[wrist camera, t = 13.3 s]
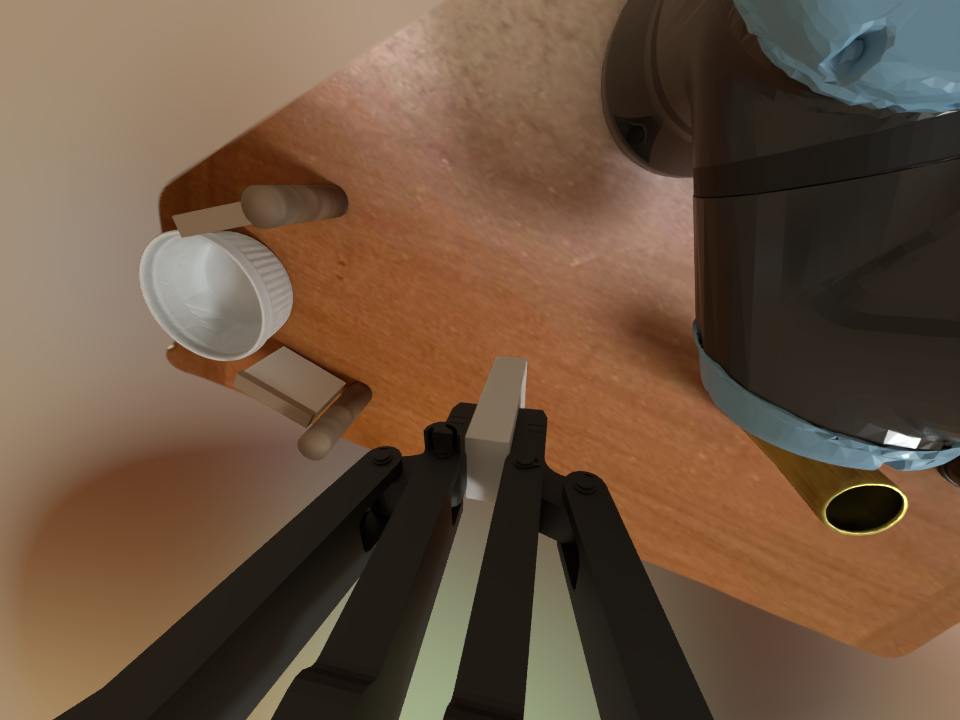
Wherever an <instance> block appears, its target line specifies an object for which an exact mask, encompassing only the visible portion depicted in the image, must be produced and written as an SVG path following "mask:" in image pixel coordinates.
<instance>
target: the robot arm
mask: <svg viewBox="0 0 960 720" xmlns="http://www.w3.org/2000/svg"><path fill="white" fill-rule="evenodd" d="M601 97H602V105H603V111H604V115H605V119H606V122H607V125H608V128H609V130H610V133H611V135H612V137H613V138H614V140H615V142H616V143H617V145H618V146H619V148H620V149H621V150H622V151H623V153H624V154H625V155H626V156H627V157H628V158H629V159H631V160H632V161H633V162H634V163H636V164H637V165H639V166H640V167H642V168H644V169H646V170H647V171H650V172H652V173H655V174H658V175H662V176H667V177H675V178H689V177H693V181H694V195H693V217H694V264H695V312H696V318H695V320H694V322H693V336H694V341H695V343H696V345H697V348H698V352H699V364H700V375H701V380H702V383H703V386H704V388H705V390H706V391H707V392H708V393H709V395H710V397H711V399H712V401H713V403H714V404H715V405H716V406H717V407H718V409H719V410H720V411H721V412H723V413H724V414H725V415H726V416H727V417H728V418H729V419H730V420H732V421H733V422H734V423H736V424H737V425H738V426H740V427H741V428H743V429H744V430H746V431H748V432H749V433H751V434H753V435H754V436H756V437H758V438H760V439H762V440H764V441H766V442H768V443H771V444H773V445H775V446H777V447H779V448H782V449H784V450H787V451H789V452H792V453H795V454H797V455H800V456H803V457H807V458H810V459H813V460H817V461H821V462H824V463H828V464H833V465H838V466H843V467H849V468H855V469H862V470H876V469H878V468H879V467H880V466H881V465H882V464H883V463H885V464H887V465H889V466H891V467H893V468H895V469H897V470H900V471H909V470H922V469H927V468H932V467H936V466H939V465H942V464H945V463H947V462H949V461H951V460H952V459H954V458H956V457H957V456H959V455H960V0H627V2H626V4H625V6H624V8H623V10H622V12H621V14H620V16H619V18H618V20H617V22H616V25H615V27H614V29H613V32H612V34H611V37H610V40H609V43H608V46H607V50H606V53H605V58H604V63H603V69H602V79H601ZM526 373H527V358H515V357H503V356H496V359H495V361H494V364H493V366H492V369H491V371H490V374H489V377H488V379H487V382H486V384H485V387H484V389H483V392H482V395H481V397H480V400H479V402H478V404H471V403H462V402H460V403H459V404H458V405H456V406H455V407H454V408H453V409H452V411H451V413H450V415H449V417H448V419H447V421H446V422H437V423H433V424H431V425H429V426H427V427H426V428H425V430H424V441H425V451H424V453H422V454H419V455H414V456H403V457H402V454H401V452H400V451H399V450H398V449H396V448H395V447H390V446H383V447H378V448H375V449H372V450H371V451H369V452H368V453H367V454H366V455H364V456H363V457H362V458H361V459H360V460H359V461H358V462H357V463H355V464H354V465H353V466H352V467H351V468H350V469H349V470H347V471H346V472H345V473H344V474H343V475H342V476H341V477H340V478H338V479H337V480H336V481H335V482H334V483H333V484H332V485H331V486H329V487H328V488H327V489H326V490H325V491H324V492H323V493H322V494H320V495H319V496H318V497H317V498H316V499H315V500H314V501H313V502H311V503H310V504H309V505H308V506H307V507H306V508H305V509H304V510H303V511H301V512H300V513H299V514H298V515H297V516H296V517H295V518H293V519H292V520H291V521H290V522H289V523H288V524H287V525H286V526H284V527H283V528H282V529H281V530H280V531H279V532H278V533H277V534H276V535H274V536H273V537H272V538H271V539H270V540H269V541H268V542H266V543H265V544H264V545H263V546H262V547H261V548H260V549H259V550H257V551H256V552H255V553H254V554H253V555H252V556H251V557H250V558H249V559H247V560H246V561H245V562H244V563H243V564H242V565H241V566H239V567H238V568H237V569H236V570H235V571H234V572H233V573H231V574H230V575H229V576H228V577H227V578H226V579H225V580H224V581H222V582H221V583H220V584H219V585H218V586H217V587H216V588H215V589H214V590H212V591H211V592H210V593H209V594H208V595H207V596H206V597H204V598H203V599H202V600H201V601H200V602H199V603H198V604H197V605H196V606H194V607H193V608H192V609H191V610H190V611H189V612H188V613H186V614H185V615H184V616H183V617H182V618H181V619H180V620H179V621H177V622H176V623H175V624H174V625H173V626H172V627H171V628H170V629H168V630H167V631H166V632H165V633H164V634H163V635H162V636H161V637H159V639H157V640H156V641H155V642H154V643H153V644H152V645H150V646H149V647H148V648H147V649H146V650H145V651H144V652H143V653H142V654H140V655H139V656H138V657H137V658H136V659H135V660H134V661H132V662H131V663H130V664H129V665H128V666H127V667H126V668H125V669H123V670H122V671H121V672H120V673H119V674H118V675H117V676H116V677H114V678H113V679H112V680H111V681H110V682H109V683H108V684H107V685H105V686H104V687H103V688H102V689H100V690H99V691H97V692H96V693H94V694H92V695H91V696H89V697H88V698H86V699H85V700H83V701H81V702H80V703H79V704H77V705H76V706H74V707H72V708H71V709H69V710H67V711H66V712H64V713H63V714H61V715H60V716H58V717H56V718H55V719H53V720H246V719H247V718H248V716H249V715H250V714H251V713H252V711H253V710H254V709H255V707H256V706H257V705H258V704H259V702H260V701H261V700H262V699H263V697H264V696H265V695H266V694H267V692H268V691H269V690H270V689H271V687H272V686H273V685H274V684H275V682H276V681H277V680H278V679H279V677H280V676H281V675H282V673H283V672H284V671H285V669H287V667H288V666H289V665H290V663H291V662H292V661H293V660H294V659H295V657H296V656H297V655H298V653H299V652H300V651H301V650H302V648H303V647H304V646H305V645H306V643H307V642H308V641H309V640H310V638H311V637H312V636H313V635H314V633H315V632H316V631H317V630H318V628H319V627H320V626H321V625H322V623H323V622H324V621H325V620H326V618H327V617H328V616H329V615H330V613H331V612H332V611H333V610H334V608H335V607H336V606H337V605H338V603H339V602H340V601H341V599H342V598H343V597H344V596H345V594H346V593H347V592H348V591H349V589H350V588H351V587H352V586H353V584H354V583H355V582H356V581H357V579H358V578H359V577H360V578H359V580H358V582H357V584H356V586H355V587H354V589H353V591H352V593H351V595H350V597H349V599H348V601H347V603H346V605H345V607H344V609H343V611H342V613H341V615H340V617H339V619H338V621H337V623H336V625H335V627H334V628H333V630H332V632H331V634H330V636H329V638H328V640H327V642H326V644H325V646H324V648H323V650H322V652H321V654H320V656H319V657H318V659H317V661H316V662H315V663H314V664H313V665H312V666H311V667H309V668H306V669H303V670H302V671H301V672H300V673H299V674H298V675H297V676H296V677H295V678H294V680H293V682H292V683H291V685H290V686H289V688H288V689H287V691H286V693H285V695H284V697H283V698H282V701H281V702H280V704H279V706H278V708H277V710H276V711H275V713H274V715H273V717H272V719H271V720H399V716H400V713H401V710H402V707H403V704H404V700H405V697H406V694H407V690H408V687H409V684H410V681H411V677H412V674H413V671H414V668H415V664H416V661H417V658H418V655H419V651H420V648H421V645H422V642H423V638H424V635H425V631H426V629H427V625H428V622H429V619H430V615H431V612H432V609H433V606H434V602H435V599H436V596H437V593H438V589H439V586H440V583H441V580H442V576H443V573H444V570H445V567H446V563H447V560H448V557H449V553H450V550H451V547H452V544H453V540H454V537H455V534H456V531H457V527H458V524H459V521H460V517H461V514H462V511H463V496H464V493H465V490H466V498H469V499H476V500H482V501H489V502H495V507H494V512H493V516H492V521H491V525H490V530H489V534H488V539H487V543H486V548H485V553H484V557H483V562H482V566H481V570H480V575H479V580H478V584H477V589H476V593H475V598H474V602H473V607H472V611H471V616H470V620H469V625H468V629H467V634H466V638H465V643H464V648H463V652H462V657H461V661H460V666H459V670H458V675H457V679H456V684H455V688H454V692H453V696H452V699H451V702H450V703H449V705H448V706H447V709H446V712H445V714H444V718H443V720H523V716H524V705H525V693H526V680H527V668H528V667H527V666H528V656H529V642H530V630H531V619H532V618H531V617H532V606H533V594H534V581H535V569H536V556H537V545H538V532H539V533H542V534H544V535H546V536H548V537H550V538H552V539H554V540H556V541H557V547H558V551H559V554H560V559H561V563H562V567H563V571H564V574H565V579H566V583H567V586H568V591H569V595H570V599H571V603H572V607H573V611H574V615H575V619H576V623H577V627H578V630H579V634H580V638H581V642H582V646H583V650H584V654H585V658H586V662H587V666H588V670H589V674H590V678H591V682H592V686H593V690H594V694H595V698H596V702H597V706H598V710H599V714H600V718H601V720H714V719H713V717H712V715H711V713H710V710H709V708H708V706H707V704H706V702H705V699H704V697H703V695H702V693H701V691H700V688H699V686H698V684H697V682H696V680H695V678H694V675H693V674H692V671H691V669H690V667H689V665H688V662H687V660H686V658H685V656H684V654H683V651H682V649H681V647H680V645H679V643H678V641H677V638H676V636H675V634H674V632H673V630H672V628H671V625H670V623H669V621H668V619H667V617H666V614H665V612H664V610H663V608H662V606H661V604H660V601H659V599H658V597H657V595H656V593H655V590H654V588H653V586H652V584H651V582H650V580H649V577H648V575H647V573H646V571H645V569H644V567H643V564H642V562H641V560H640V558H639V556H638V553H637V551H636V549H635V547H634V545H633V543H632V540H631V538H630V536H629V534H628V532H627V530H626V527H625V525H624V523H623V521H622V519H621V516H620V514H619V512H618V510H617V508H616V506H615V503H614V501H613V499H612V497H611V495H610V493H609V490H608V488H607V486H606V484H605V483H604V482H603V480H602V479H601V478H599V477H598V476H596V475H595V474H592V473H589V472H585V471H576V472H572V473H570V474H568V475H567V476H566V477H565V476H563V475H560V474H558V473H556V472H554V471H553V470H551V469H550V468H549V467H548V466H547V464H546V462H545V457H544V456H545V443H546V430H547V416H546V415H545V413H544V411H543V410H535V409H526V408H524V407H525V391H526Z"/></svg>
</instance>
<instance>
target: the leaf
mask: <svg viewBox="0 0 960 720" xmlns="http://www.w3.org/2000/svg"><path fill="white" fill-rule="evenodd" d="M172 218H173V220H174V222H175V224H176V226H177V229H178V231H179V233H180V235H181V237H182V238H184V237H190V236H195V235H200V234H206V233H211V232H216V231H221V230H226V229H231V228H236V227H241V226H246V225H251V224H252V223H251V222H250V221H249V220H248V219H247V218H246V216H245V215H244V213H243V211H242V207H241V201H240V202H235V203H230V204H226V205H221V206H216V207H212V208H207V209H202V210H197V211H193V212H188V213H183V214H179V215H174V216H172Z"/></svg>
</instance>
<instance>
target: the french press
mask: <svg viewBox="0 0 960 720" xmlns="http://www.w3.org/2000/svg"><path fill="white" fill-rule="evenodd" d="M938 468H939V470H940V472H941V474H942V475H943V477H944V478H945V479H946V480H947V481H949V482H950V483H952V484H954V485H955V486H958V487H960V455H959V456H957V457H956V458H954V459H952V460H951V461H949V462H947V463H945V464H942V465H939V466H938Z"/></svg>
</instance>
